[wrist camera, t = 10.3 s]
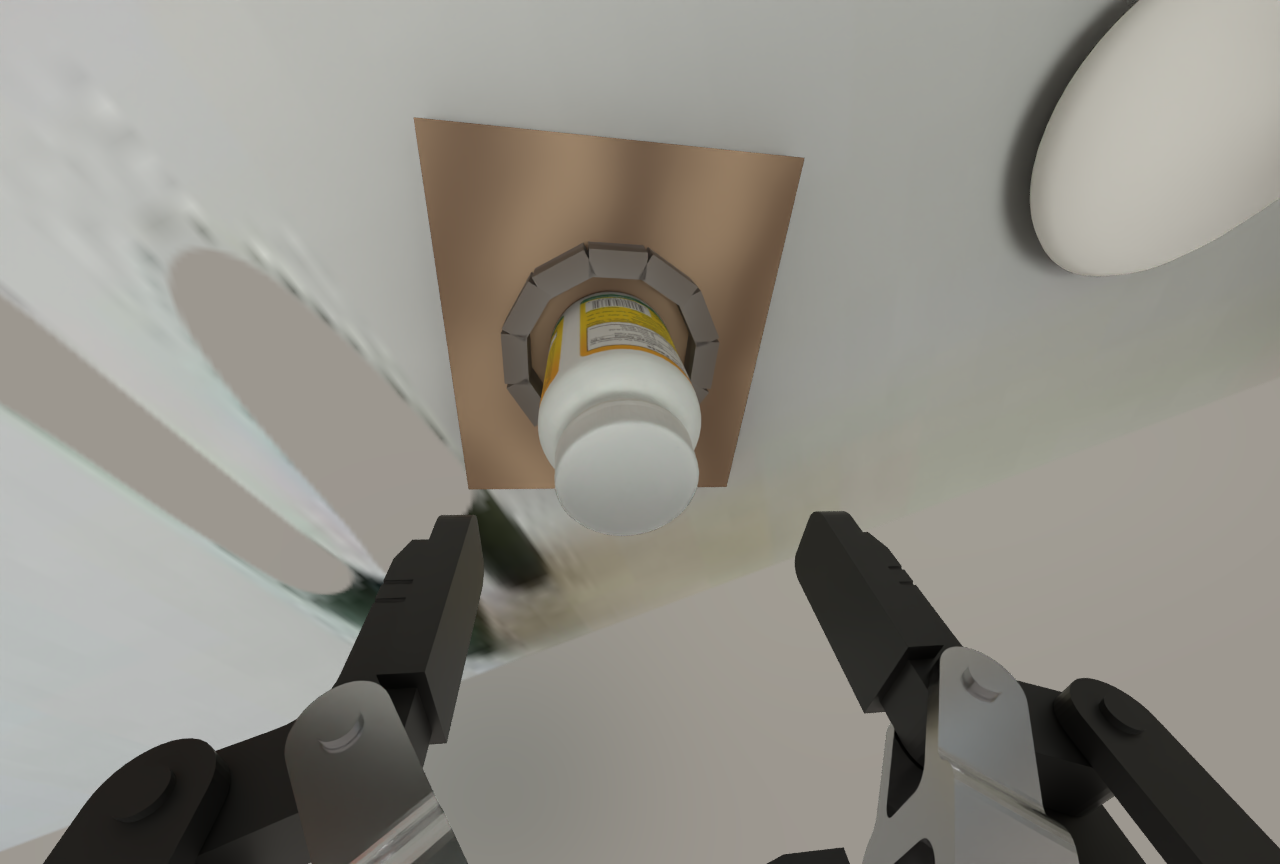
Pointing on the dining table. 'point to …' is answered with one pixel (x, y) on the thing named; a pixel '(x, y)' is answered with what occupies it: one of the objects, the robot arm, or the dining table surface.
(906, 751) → the robot arm
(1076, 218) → the flower in vase
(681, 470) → the supplement bottle
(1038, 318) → the dining table surface
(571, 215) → the collar board
